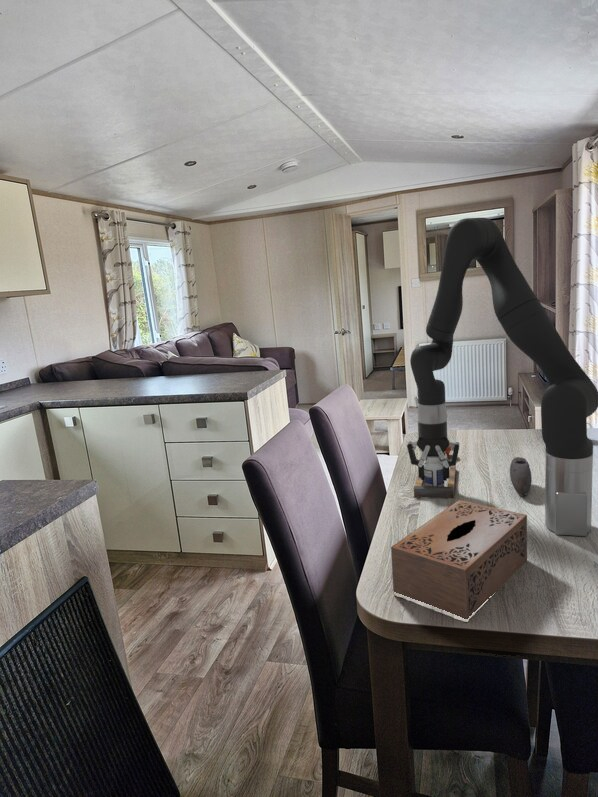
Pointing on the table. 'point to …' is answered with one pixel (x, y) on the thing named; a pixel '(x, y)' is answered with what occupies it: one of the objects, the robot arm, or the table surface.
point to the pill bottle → (433, 472)
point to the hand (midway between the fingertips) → (434, 479)
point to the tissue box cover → (460, 557)
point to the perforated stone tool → (520, 475)
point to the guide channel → (436, 487)
